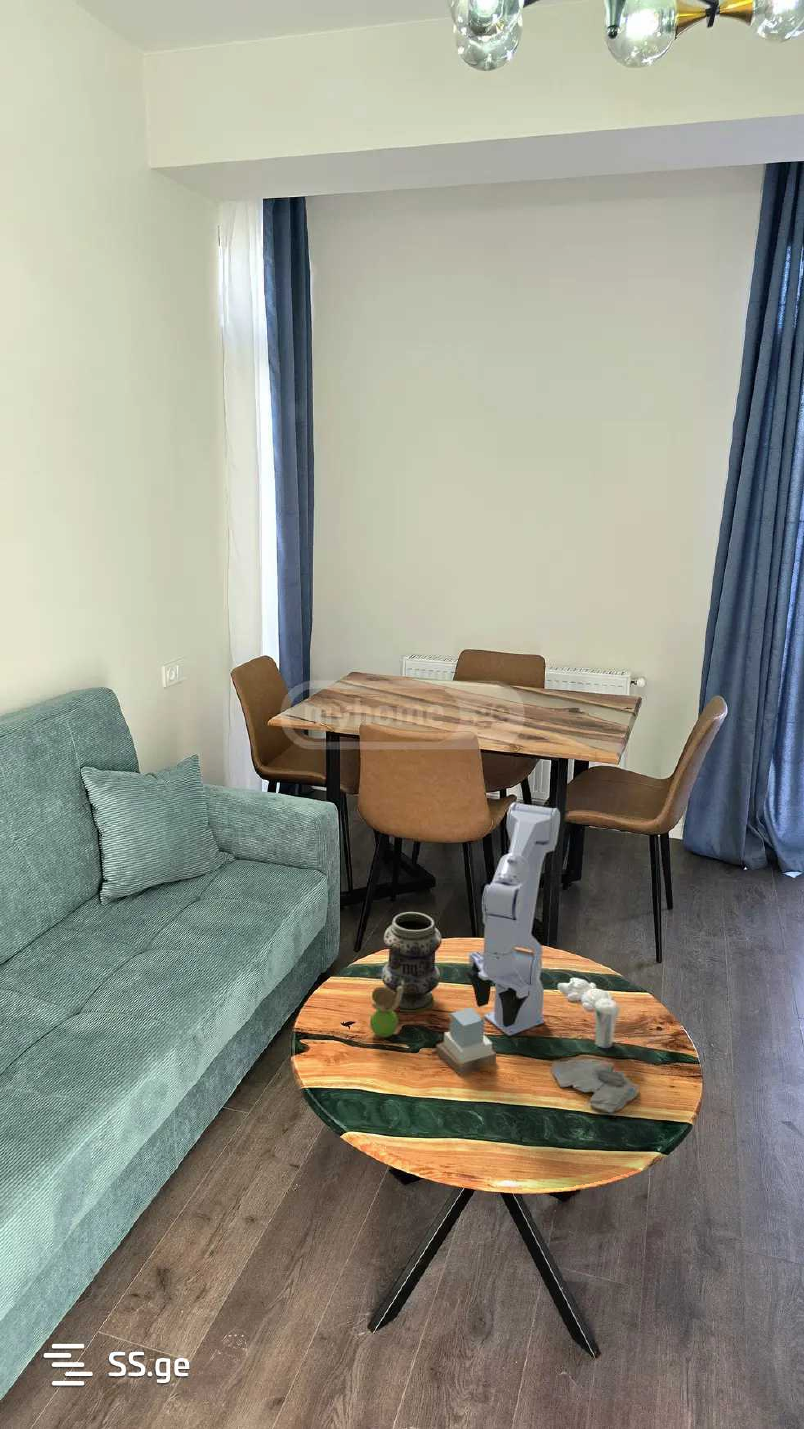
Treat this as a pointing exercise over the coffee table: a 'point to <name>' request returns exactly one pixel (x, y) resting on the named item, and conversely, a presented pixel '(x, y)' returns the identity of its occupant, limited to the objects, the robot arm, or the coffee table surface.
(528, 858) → the robot arm
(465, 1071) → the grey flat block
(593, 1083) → the fossil
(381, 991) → the snail figurine
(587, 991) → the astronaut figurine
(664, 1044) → the coffee table surface
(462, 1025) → the slate block
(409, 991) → the apothecary jar
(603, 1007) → the milkshake
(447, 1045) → the cream slab
